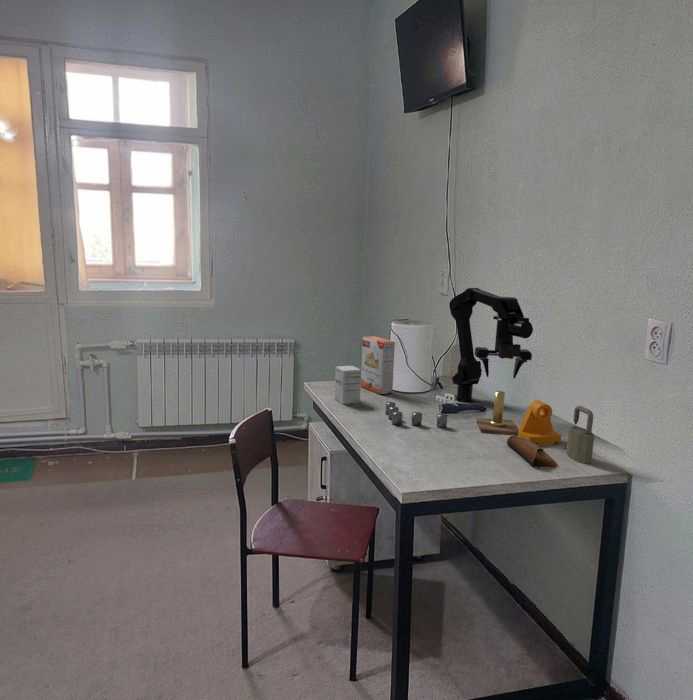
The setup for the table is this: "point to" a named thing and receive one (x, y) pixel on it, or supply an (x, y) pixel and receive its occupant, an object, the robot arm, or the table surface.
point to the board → (487, 428)
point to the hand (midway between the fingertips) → (500, 377)
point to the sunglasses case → (531, 452)
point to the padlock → (581, 438)
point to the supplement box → (347, 384)
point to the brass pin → (498, 410)
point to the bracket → (538, 425)
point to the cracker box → (377, 364)
